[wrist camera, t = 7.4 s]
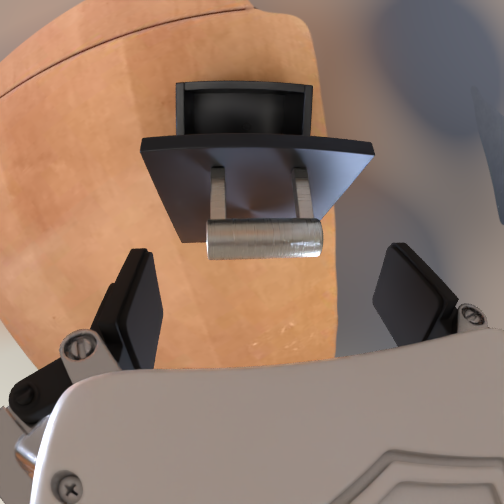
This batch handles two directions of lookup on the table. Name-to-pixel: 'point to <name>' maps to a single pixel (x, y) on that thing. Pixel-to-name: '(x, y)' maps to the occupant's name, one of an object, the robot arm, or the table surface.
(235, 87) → the black hollow box
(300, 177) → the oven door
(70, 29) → the table surface
